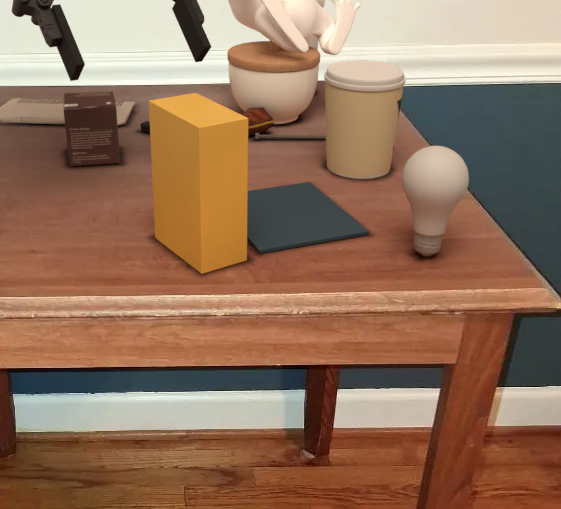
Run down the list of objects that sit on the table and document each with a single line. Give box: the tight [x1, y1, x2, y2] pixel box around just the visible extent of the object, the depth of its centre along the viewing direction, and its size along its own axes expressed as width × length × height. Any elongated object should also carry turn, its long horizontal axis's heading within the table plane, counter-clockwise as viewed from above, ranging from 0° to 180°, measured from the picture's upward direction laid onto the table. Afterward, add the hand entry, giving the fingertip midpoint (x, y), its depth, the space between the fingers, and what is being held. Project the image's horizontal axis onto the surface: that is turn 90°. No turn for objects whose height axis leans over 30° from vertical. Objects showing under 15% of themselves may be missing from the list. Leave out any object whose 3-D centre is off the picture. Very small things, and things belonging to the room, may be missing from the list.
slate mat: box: [247, 181, 370, 254], centre depth 89 cm, size 12×14×1 cm
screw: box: [254, 132, 326, 141], centre depth 110 cm, size 10×1×1 cm, turn 95°
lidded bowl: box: [227, 40, 321, 125], centre depth 116 cm, size 13×13×11 cm
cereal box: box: [148, 92, 249, 275], centre depth 78 cm, size 5×9×14 cm, turn 36°
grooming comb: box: [0, 97, 136, 126], centre depth 117 cm, size 18×10×1 cm, turn 88°
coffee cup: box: [323, 59, 407, 180], centre depth 100 cm, size 9×9×12 cm
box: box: [63, 91, 121, 167], centre depth 101 cm, size 6×6×7 cm
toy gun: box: [140, 107, 275, 136], centre depth 111 cm, size 4×15×10 cm
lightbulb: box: [401, 145, 470, 257], centre depth 79 cm, size 6×6×11 cm
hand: (143, 63), depth 82 cm, fingers open, 13 cm apart
